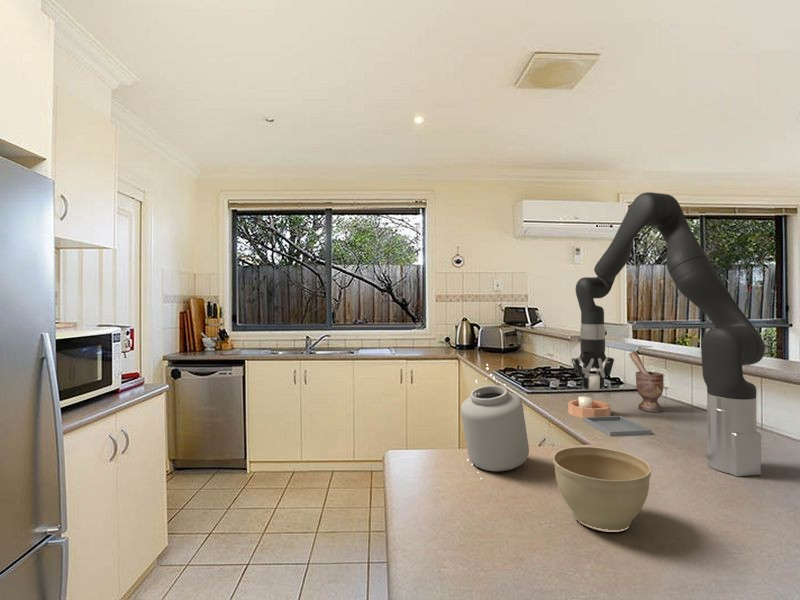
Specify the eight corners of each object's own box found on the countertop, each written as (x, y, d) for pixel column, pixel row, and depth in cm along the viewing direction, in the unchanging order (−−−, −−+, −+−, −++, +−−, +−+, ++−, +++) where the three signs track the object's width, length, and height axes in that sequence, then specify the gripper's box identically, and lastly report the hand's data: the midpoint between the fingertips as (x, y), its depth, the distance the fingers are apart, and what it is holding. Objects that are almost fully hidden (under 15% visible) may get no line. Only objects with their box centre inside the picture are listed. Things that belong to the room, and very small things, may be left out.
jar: (492, 487, 93) (491, 371, 93) (443, 467, 105) (442, 364, 105) (541, 464, 106) (540, 362, 105) (492, 448, 117) (491, 356, 117)
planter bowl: (569, 492, 91) (569, 440, 91) (658, 516, 80) (658, 458, 80) (540, 524, 78) (539, 464, 78) (641, 557, 68) (640, 488, 68)
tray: (651, 437, 124) (651, 430, 124) (610, 438, 123) (610, 431, 123) (620, 422, 139) (620, 415, 139) (583, 423, 138) (583, 417, 138)
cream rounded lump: (595, 412, 147) (594, 398, 147) (582, 412, 147) (582, 399, 147) (588, 409, 152) (588, 395, 152) (576, 409, 151) (576, 396, 151)
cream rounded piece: (602, 389, 142) (602, 375, 142) (589, 390, 142) (589, 376, 142) (595, 387, 147) (595, 373, 147) (583, 387, 146) (583, 373, 146)
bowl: (618, 420, 141) (618, 408, 141) (580, 422, 140) (580, 409, 140) (597, 410, 154) (597, 398, 154) (562, 411, 153) (561, 400, 153)
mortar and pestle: (623, 408, 156) (622, 352, 156) (631, 403, 162) (631, 350, 162) (659, 414, 148) (658, 355, 147) (667, 409, 154) (666, 353, 153)
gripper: (577, 339, 140) (577, 391, 140) (619, 338, 141) (620, 390, 141) (566, 336, 147) (566, 386, 147) (606, 335, 148) (607, 385, 149)
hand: (592, 388), depth 144 cm, fingers closed on cream rounded piece, 4 cm apart
